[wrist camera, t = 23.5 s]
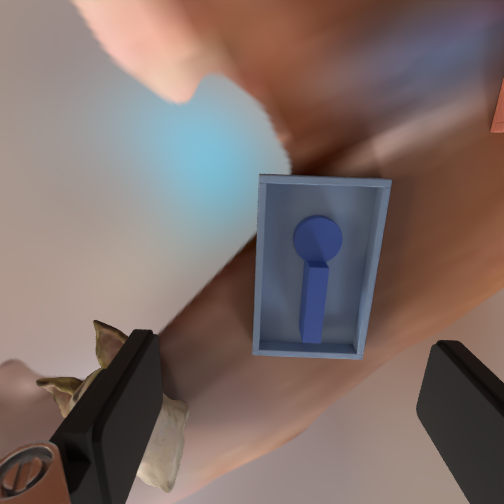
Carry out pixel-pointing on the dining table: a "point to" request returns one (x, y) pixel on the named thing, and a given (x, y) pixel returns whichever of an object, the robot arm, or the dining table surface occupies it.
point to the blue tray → (340, 267)
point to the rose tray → (499, 113)
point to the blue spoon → (315, 270)
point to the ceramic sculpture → (167, 425)
